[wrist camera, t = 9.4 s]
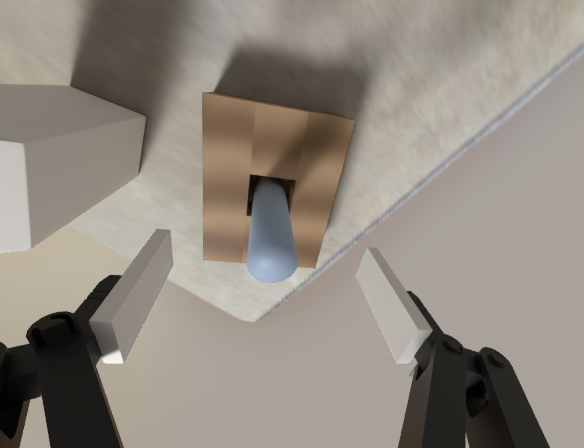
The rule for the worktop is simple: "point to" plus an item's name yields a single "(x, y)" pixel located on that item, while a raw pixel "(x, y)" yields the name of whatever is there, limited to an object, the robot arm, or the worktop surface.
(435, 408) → the robot arm
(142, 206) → the worktop surface
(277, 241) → the pin
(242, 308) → the worktop surface
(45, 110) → the milk carton
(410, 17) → the worktop surface
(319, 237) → the bore block
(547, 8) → the worktop surface
